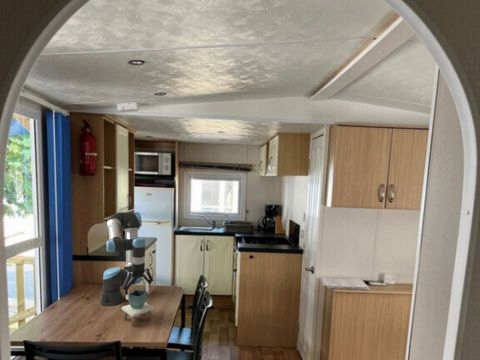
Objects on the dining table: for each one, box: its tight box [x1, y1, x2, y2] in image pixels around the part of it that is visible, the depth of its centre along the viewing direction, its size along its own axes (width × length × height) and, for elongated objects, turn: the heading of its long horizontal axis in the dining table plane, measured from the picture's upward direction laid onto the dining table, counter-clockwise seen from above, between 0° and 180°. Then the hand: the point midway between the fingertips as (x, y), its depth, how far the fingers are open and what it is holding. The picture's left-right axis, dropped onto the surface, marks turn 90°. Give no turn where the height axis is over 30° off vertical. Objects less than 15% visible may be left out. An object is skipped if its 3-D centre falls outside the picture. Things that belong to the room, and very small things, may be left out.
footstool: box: [121, 301, 154, 327], centre depth 179 cm, size 14×14×8 cm
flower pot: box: [128, 289, 148, 309], centre depth 179 cm, size 9×9×9 cm
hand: (137, 296), depth 179 cm, fingers open, 13 cm apart
